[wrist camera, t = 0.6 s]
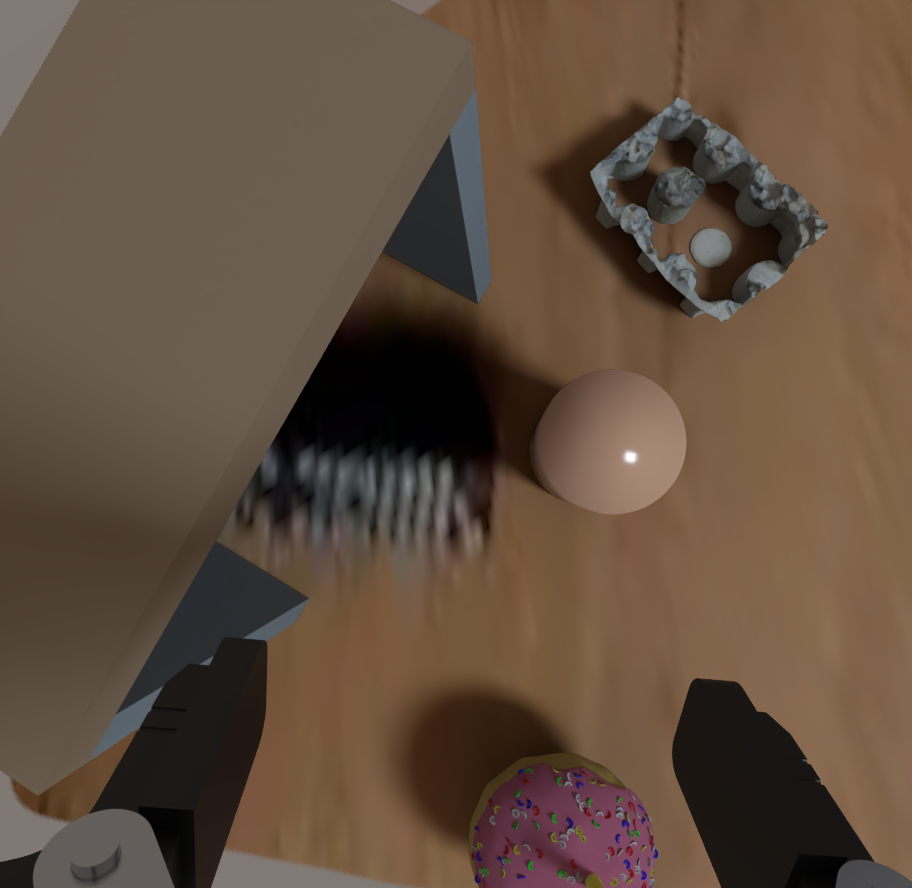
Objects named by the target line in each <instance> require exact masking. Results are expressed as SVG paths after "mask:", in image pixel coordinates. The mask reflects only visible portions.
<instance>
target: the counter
mask: <svg viewBox="0 0 912 888" xmlns="http://www.w3.org/2000/svg"><path fill="white" fill-rule="evenodd" d="M381 252H384V253H386V254H388V255H389V256H391V257H393V258H395V259H397V260H399V261H400V262H402V263H404V264H406V265H408V266H410V267H411V268H413V269H415V270H417V271H419V272H421V273H422V274H424V275H426V276H428V277H430V278H432V279H433V280H435V281H437V282H439V283H441V284H443V285H444V286H446V287H448V288H450V289H452V290H454V291H455V292H457V293H459V294H461V295H463V296H465V297H466V298H468V299H470V300H472V301H474V302H476V303H477V304H478V303H479V301H480V300H481V298H482V296H483V294H484V293H485V291H486V289H487V287H488V286H489V284H490V282H491V271H490V258H489V246H488V234H487V221H486V209H485V197H484V184H483V172H482V159H481V147H480V135H479V122H478V110H477V98H476V85H475V73H474V61H473V48H472V41H470V40H468V39H466V38H464V37H462V36H460V35H458V34H456V33H454V32H452V31H450V30H448V29H446V28H444V27H442V26H440V25H438V24H437V23H435V22H433V21H431V20H429V19H427V18H425V17H423V16H421V15H419V14H417V13H415V12H413V11H411V10H408V9H407V8H405V7H403V6H400V5H399V4H397V3H395V2H393V1H391V0H80V1H79V2H78V4H77V6H76V8H75V9H74V11H73V13H72V14H71V16H70V18H69V19H68V21H67V23H66V25H65V26H64V28H63V30H62V32H61V33H60V35H59V37H58V38H57V40H56V42H55V44H54V45H53V47H52V49H51V50H50V52H49V54H48V56H47V57H46V59H45V61H44V62H43V64H42V66H41V68H40V69H39V71H38V73H37V74H36V76H35V78H34V80H33V82H32V83H31V85H30V87H29V88H28V90H27V92H26V93H25V95H24V97H23V99H22V100H21V102H20V104H19V105H18V108H17V109H16V111H15V112H14V114H13V116H12V117H11V119H10V121H9V123H8V124H7V126H6V128H5V130H4V131H3V133H2V135H1V137H0V770H1V771H2V772H4V773H5V774H7V775H8V776H10V777H11V778H12V779H14V780H15V781H17V782H18V783H20V784H21V785H23V786H24V787H26V788H27V789H29V790H30V791H32V792H33V793H35V794H36V795H39V794H41V793H42V792H44V791H45V790H47V789H48V788H50V787H51V786H53V785H54V784H56V783H57V782H59V781H60V780H62V779H63V778H65V777H66V776H68V775H69V774H71V773H72V772H74V771H75V770H77V769H78V768H79V767H81V766H82V765H84V764H85V763H87V762H88V761H90V760H91V759H93V758H94V757H96V756H97V755H99V754H100V753H102V752H103V751H105V750H106V749H108V748H109V747H111V746H112V745H114V744H115V743H117V742H118V741H120V740H121V739H123V738H124V737H126V736H127V735H128V734H130V733H131V732H133V731H134V730H136V729H137V728H139V727H140V726H141V724H142V722H143V721H144V719H145V717H146V715H147V714H148V712H149V711H151V708H152V705H153V703H154V702H155V700H156V698H157V696H158V695H159V693H160V691H161V689H162V688H163V686H164V684H165V683H166V682H167V681H168V680H169V679H171V678H172V677H173V676H174V675H176V674H177V673H178V672H179V671H180V670H182V669H183V668H184V667H185V666H187V665H188V664H199V665H210V663H211V661H212V659H213V657H214V655H215V653H216V651H217V649H218V647H219V645H220V643H221V641H222V639H223V638H224V637H233V638H244V639H256V640H266V642H267V641H268V640H270V639H271V638H273V637H274V636H276V635H277V634H279V633H280V632H282V631H283V630H284V629H286V628H287V627H289V626H290V625H292V624H293V623H295V622H296V620H297V619H298V617H299V615H300V613H301V612H302V610H303V608H304V606H305V605H306V603H307V601H308V600H309V598H307V597H306V596H304V595H302V594H301V593H299V592H297V591H296V590H294V589H292V588H291V587H289V586H288V585H286V584H284V583H283V582H281V581H279V580H278V579H276V578H275V577H273V576H271V575H270V574H268V573H266V572H265V571H263V570H261V569H260V568H258V567H257V566H255V565H253V564H252V563H250V562H248V561H247V560H245V559H244V558H242V557H240V556H239V555H237V554H235V553H234V552H232V551H231V550H229V549H227V548H226V547H224V546H222V545H221V544H219V543H217V542H216V539H217V537H218V536H219V534H220V532H221V530H222V529H223V527H224V525H225V523H226V522H227V520H228V518H229V516H230V515H231V513H232V511H233V510H234V508H235V506H236V504H237V503H238V501H239V499H240V497H241V496H242V494H243V492H244V490H245V489H246V487H247V485H248V483H249V482H250V480H251V478H252V477H253V475H254V473H255V471H256V470H257V468H258V466H259V464H260V463H261V461H262V459H263V457H264V456H265V454H266V452H267V450H268V449H269V447H270V445H271V443H272V442H273V440H274V438H275V437H276V435H277V433H278V431H279V430H280V428H281V426H282V424H283V423H284V421H285V419H286V417H287V416H288V414H289V412H290V410H291V409H292V407H293V405H294V403H295V402H296V400H297V398H298V397H299V395H300V393H301V391H302V390H303V388H304V386H305V384H306V383H307V381H308V379H309V377H310V376H311V374H312V372H313V370H314V369H315V367H316V365H317V364H318V362H319V360H320V358H321V357H322V355H323V353H324V351H325V350H326V348H327V346H328V344H329V343H330V341H331V339H332V337H333V336H334V334H335V332H336V330H337V329H338V327H339V325H340V324H341V322H342V320H343V318H344V317H345V315H346V313H347V311H348V310H349V308H350V306H351V304H352V303H353V301H354V299H355V297H356V296H357V294H358V292H359V290H360V289H361V287H362V285H363V284H364V282H365V280H366V278H367V277H368V275H369V273H370V271H371V270H372V268H373V266H374V264H375V263H376V261H377V259H378V257H379V256H380V254H381Z"/></svg>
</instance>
